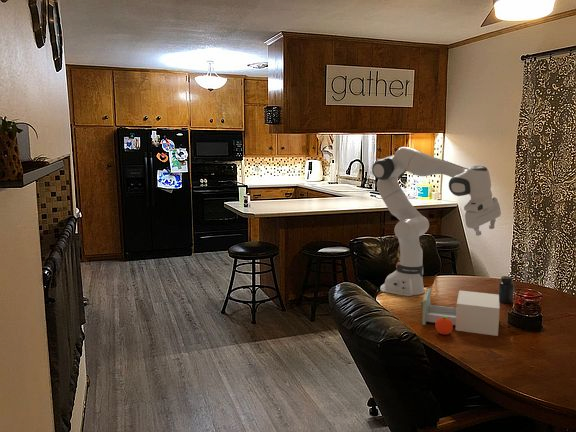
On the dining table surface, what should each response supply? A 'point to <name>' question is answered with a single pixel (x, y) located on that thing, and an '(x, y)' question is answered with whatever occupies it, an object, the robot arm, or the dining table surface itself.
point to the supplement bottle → (506, 290)
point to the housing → (477, 313)
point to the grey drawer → (436, 310)
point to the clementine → (444, 325)
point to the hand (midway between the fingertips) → (485, 231)
